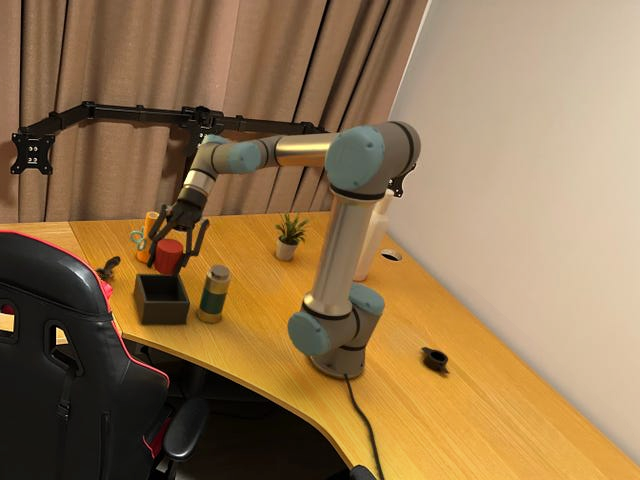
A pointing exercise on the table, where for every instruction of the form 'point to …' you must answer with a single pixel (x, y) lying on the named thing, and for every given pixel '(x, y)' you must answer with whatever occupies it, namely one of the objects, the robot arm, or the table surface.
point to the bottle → (373, 236)
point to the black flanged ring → (435, 359)
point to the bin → (161, 299)
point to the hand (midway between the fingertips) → (161, 271)
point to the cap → (167, 256)
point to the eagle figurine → (108, 268)
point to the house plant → (289, 237)
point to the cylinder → (145, 237)
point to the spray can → (214, 293)
